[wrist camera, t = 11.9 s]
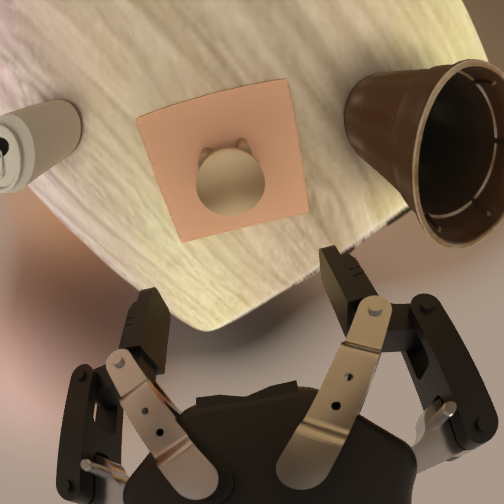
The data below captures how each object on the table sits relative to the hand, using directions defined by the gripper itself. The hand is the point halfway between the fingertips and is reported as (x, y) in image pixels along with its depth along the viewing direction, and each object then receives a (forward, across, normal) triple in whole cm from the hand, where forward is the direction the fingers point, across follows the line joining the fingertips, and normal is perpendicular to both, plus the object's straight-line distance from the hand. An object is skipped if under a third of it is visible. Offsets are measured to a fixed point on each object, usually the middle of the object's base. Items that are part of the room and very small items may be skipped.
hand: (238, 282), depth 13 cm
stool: (+19, 0, 0) cm, 19 cm away
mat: (+20, 0, 0) cm, 20 cm away
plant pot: (+20, -20, -2) cm, 28 cm away
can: (+20, +18, -11) cm, 29 cm away
